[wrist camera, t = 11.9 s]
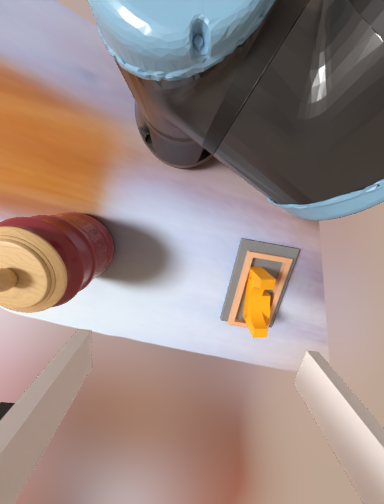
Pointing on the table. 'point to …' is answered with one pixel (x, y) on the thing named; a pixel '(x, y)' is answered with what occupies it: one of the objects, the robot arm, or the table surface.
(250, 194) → the table surface
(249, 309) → the pipe clamp
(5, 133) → the table surface
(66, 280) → the canister
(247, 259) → the holder board
